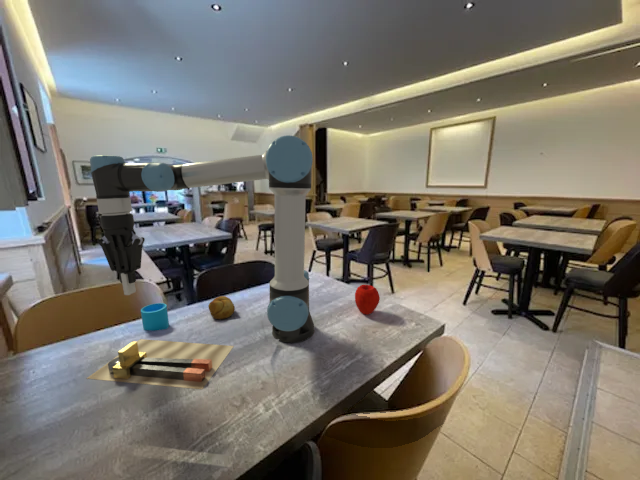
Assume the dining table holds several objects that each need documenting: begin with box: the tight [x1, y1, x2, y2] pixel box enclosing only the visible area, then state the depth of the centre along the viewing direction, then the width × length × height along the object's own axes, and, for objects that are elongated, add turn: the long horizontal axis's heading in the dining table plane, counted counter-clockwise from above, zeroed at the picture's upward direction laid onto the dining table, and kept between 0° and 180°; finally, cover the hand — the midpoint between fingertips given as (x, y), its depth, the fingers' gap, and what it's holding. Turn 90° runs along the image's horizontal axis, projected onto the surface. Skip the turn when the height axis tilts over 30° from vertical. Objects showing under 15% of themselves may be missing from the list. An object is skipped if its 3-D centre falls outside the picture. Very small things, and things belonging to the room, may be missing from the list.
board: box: [86, 338, 235, 390], centre depth 81 cm, size 33×19×2 cm, turn 83°
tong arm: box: [135, 357, 212, 372], centre depth 77 cm, size 23×2×2 cm, turn 87°
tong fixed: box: [107, 357, 205, 382], centre depth 75 cm, size 28×4×2 cm, turn 83°
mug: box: [140, 302, 170, 332], centre depth 103 cm, size 12×8×8 cm
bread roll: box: [208, 295, 236, 320], centre depth 112 cm, size 13×10×8 cm
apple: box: [354, 284, 381, 316], centre depth 112 cm, size 10×10×12 cm
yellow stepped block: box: [112, 341, 147, 379], centre depth 76 cm, size 4×7×7 cm, turn 173°
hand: (130, 293), depth 81 cm, fingers closed
